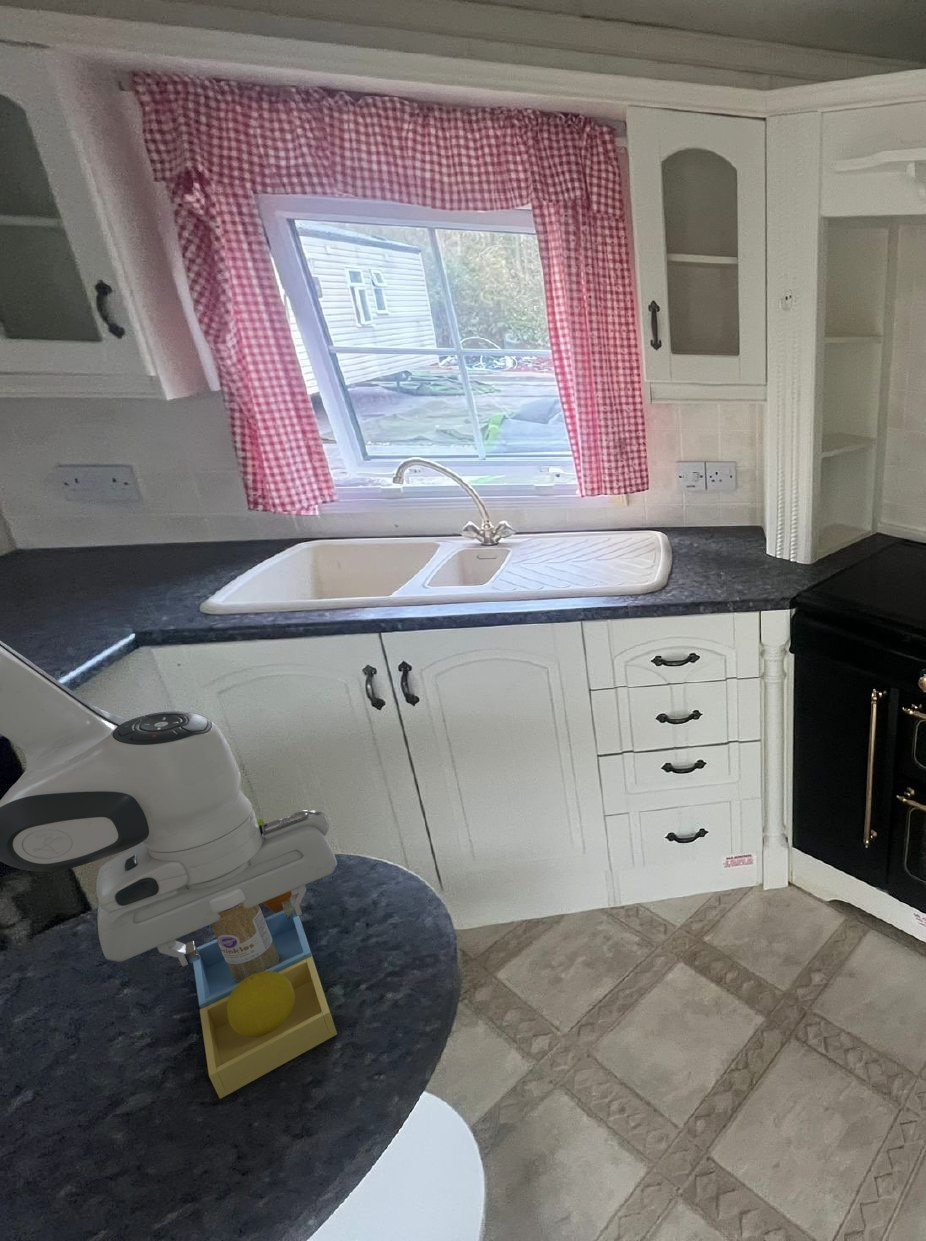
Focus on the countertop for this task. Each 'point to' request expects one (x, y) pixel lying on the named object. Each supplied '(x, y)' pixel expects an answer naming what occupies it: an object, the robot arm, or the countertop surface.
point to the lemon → (260, 1004)
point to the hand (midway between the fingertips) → (244, 936)
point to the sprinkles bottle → (243, 936)
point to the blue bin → (291, 948)
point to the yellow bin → (255, 1056)
